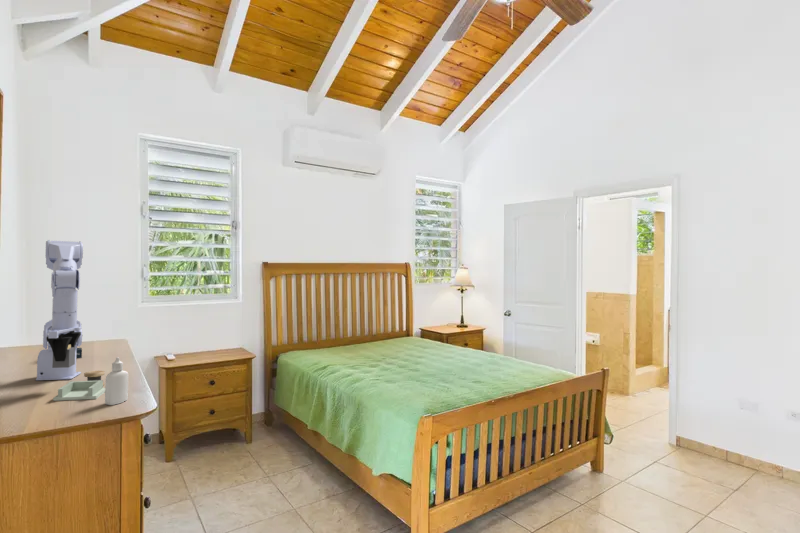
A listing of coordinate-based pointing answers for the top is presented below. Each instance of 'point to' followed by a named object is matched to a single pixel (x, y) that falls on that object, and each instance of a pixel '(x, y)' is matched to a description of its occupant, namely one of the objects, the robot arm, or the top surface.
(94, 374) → the spool
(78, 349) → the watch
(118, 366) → the eye dropper bottle
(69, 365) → the plug
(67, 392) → the notched board
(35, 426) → the top surface
